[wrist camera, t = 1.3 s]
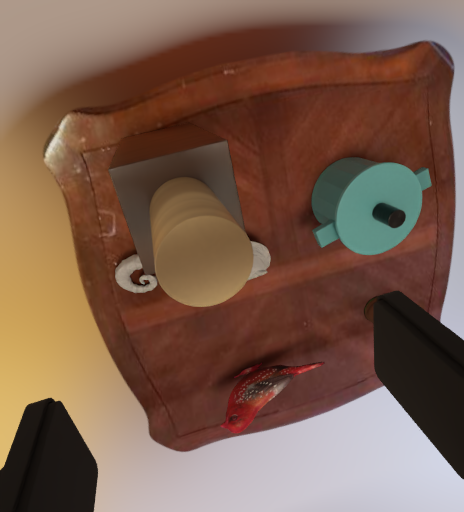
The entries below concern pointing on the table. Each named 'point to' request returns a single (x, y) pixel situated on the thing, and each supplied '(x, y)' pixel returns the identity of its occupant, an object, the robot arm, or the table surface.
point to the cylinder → (197, 244)
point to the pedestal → (169, 175)
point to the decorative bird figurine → (258, 392)
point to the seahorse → (134, 263)
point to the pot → (333, 186)
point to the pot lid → (378, 208)
